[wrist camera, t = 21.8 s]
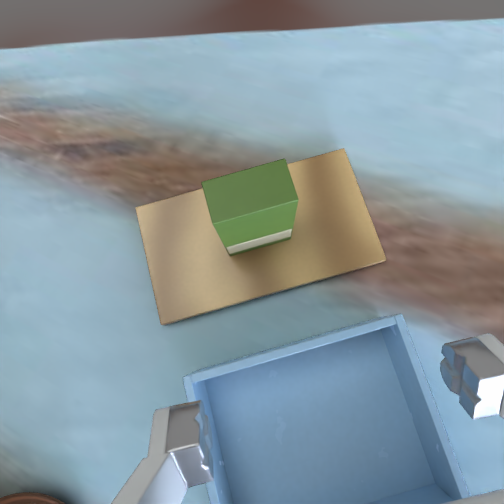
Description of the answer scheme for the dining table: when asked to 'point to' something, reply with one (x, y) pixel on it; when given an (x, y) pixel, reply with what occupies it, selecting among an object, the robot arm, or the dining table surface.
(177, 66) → the dining table surface
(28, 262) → the dining table surface
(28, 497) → the cup and saucer
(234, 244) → the block
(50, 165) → the dining table surface
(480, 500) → the robot arm
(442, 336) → the dining table surface
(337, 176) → the board
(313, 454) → the basin
